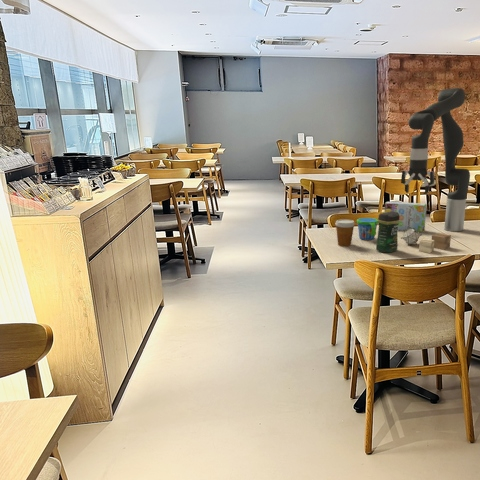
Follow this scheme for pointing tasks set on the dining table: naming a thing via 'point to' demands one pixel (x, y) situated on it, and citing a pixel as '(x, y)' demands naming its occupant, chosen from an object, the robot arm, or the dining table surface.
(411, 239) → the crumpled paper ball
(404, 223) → the snack box
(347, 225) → the disposable coffee cup
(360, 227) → the snack cup
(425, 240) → the maple block
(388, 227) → the coffee jar
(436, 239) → the walnut block
